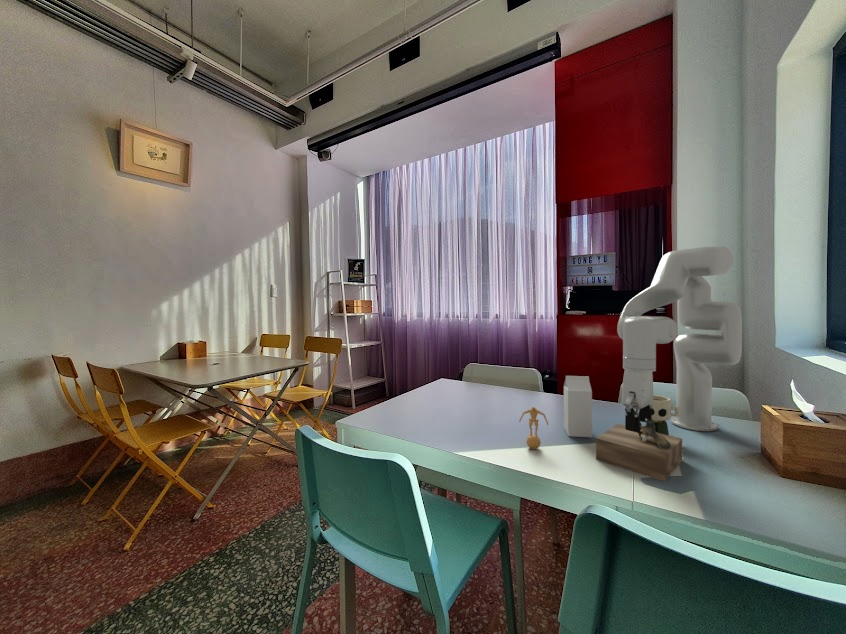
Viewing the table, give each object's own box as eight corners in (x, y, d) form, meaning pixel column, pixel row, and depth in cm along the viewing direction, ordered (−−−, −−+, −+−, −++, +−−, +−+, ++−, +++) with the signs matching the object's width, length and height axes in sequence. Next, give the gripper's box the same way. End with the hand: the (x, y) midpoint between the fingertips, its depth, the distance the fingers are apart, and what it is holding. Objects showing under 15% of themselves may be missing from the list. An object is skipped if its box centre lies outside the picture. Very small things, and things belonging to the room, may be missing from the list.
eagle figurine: (621, 434, 93) (650, 440, 85) (630, 410, 95) (659, 414, 87) (642, 447, 94) (673, 454, 86) (650, 423, 96) (681, 428, 88)
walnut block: (617, 442, 105) (618, 423, 104) (682, 460, 93) (682, 438, 92) (595, 459, 94) (595, 438, 94) (664, 481, 82) (665, 457, 82)
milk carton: (592, 438, 109) (591, 378, 108) (568, 436, 110) (568, 378, 110) (586, 429, 116) (585, 374, 115) (563, 428, 117) (563, 373, 117)
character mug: (635, 438, 108) (635, 397, 107) (637, 431, 113) (637, 392, 113) (678, 446, 101) (678, 403, 101) (678, 438, 107) (678, 397, 106)
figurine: (518, 449, 102) (518, 409, 101) (520, 441, 107) (520, 403, 107) (548, 453, 99) (548, 412, 98) (548, 444, 104) (548, 406, 104)
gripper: (634, 358, 101) (634, 415, 102) (611, 366, 89) (611, 431, 90) (664, 361, 95) (664, 422, 96) (644, 370, 84) (644, 439, 85)
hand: (638, 426), depth 93 cm, fingers open, 9 cm apart
